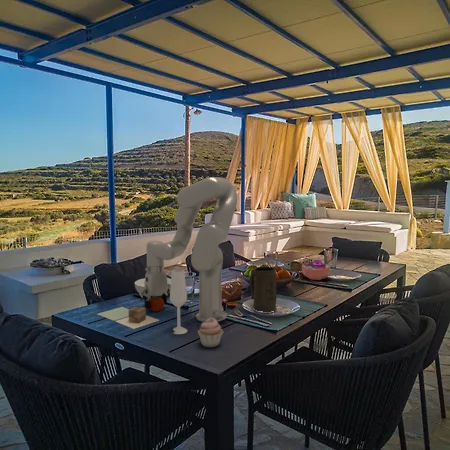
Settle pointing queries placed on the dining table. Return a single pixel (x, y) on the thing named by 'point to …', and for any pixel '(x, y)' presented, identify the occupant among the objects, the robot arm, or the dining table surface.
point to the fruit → (156, 304)
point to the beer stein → (263, 289)
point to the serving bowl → (140, 284)
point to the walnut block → (137, 314)
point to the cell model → (316, 270)
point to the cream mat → (136, 325)
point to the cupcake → (210, 333)
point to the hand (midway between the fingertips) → (156, 306)
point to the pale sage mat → (115, 313)
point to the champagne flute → (178, 296)
